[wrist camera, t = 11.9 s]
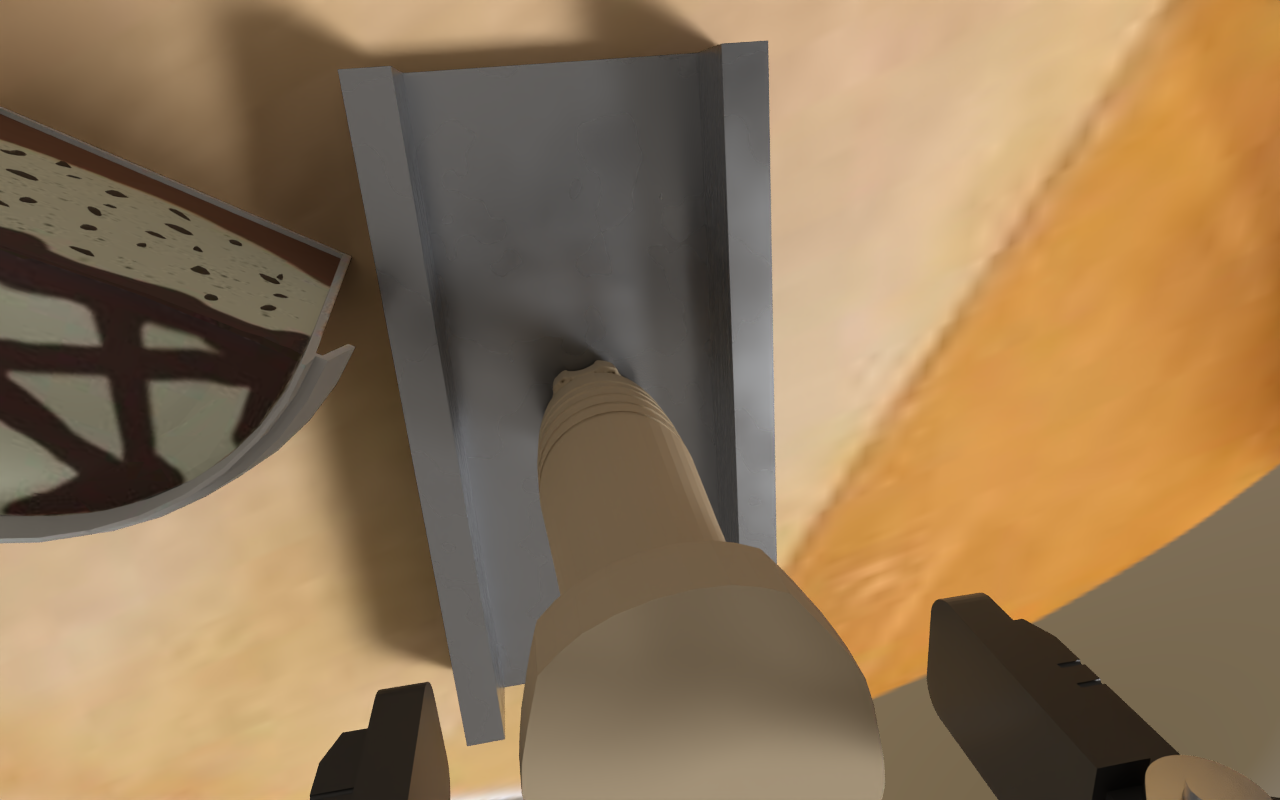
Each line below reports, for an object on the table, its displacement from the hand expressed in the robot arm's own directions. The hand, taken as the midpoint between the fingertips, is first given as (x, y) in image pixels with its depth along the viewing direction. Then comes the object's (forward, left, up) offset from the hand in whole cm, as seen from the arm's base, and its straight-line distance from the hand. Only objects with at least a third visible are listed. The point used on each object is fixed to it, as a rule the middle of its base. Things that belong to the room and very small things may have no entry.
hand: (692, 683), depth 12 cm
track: (0, 0, -14) cm, 14 cm away
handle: (0, 0, -13) cm, 13 cm away
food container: (-5, -12, -14) cm, 20 cm away
